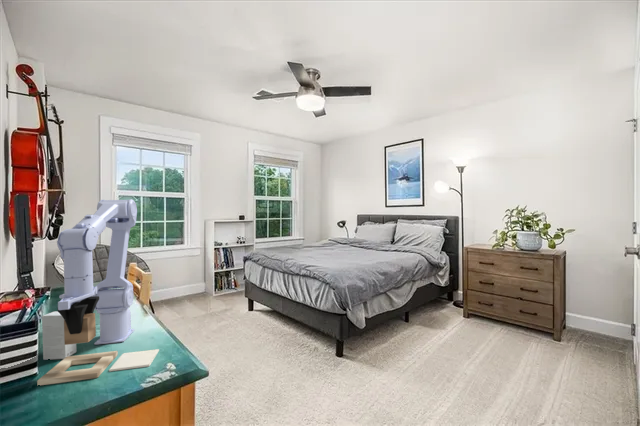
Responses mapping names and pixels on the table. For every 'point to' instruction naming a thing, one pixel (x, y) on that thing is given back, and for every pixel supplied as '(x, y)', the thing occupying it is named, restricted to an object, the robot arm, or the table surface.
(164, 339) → the table surface
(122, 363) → the tile
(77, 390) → the table surface
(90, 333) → the walnut block
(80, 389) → the table surface
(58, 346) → the skincare box
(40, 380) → the board
